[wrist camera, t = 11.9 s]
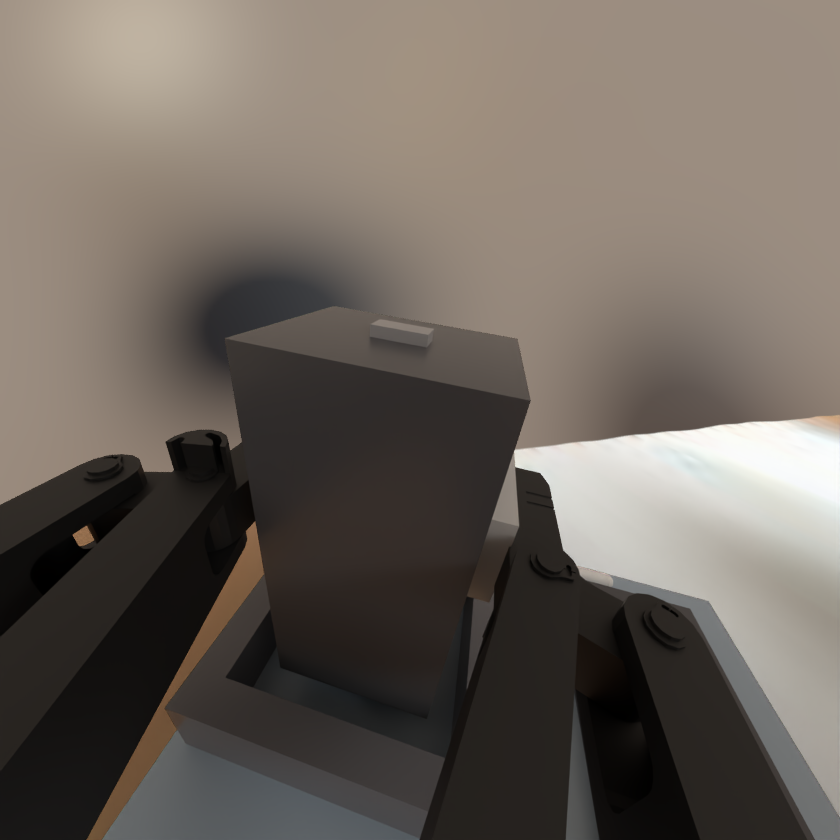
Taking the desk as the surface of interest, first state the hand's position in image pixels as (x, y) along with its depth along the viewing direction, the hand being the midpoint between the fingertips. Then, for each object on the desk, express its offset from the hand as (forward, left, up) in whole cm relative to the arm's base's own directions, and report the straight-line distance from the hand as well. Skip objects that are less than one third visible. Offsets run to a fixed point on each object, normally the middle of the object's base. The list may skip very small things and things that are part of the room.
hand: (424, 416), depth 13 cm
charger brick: (0, +5, -6) cm, 8 cm away
